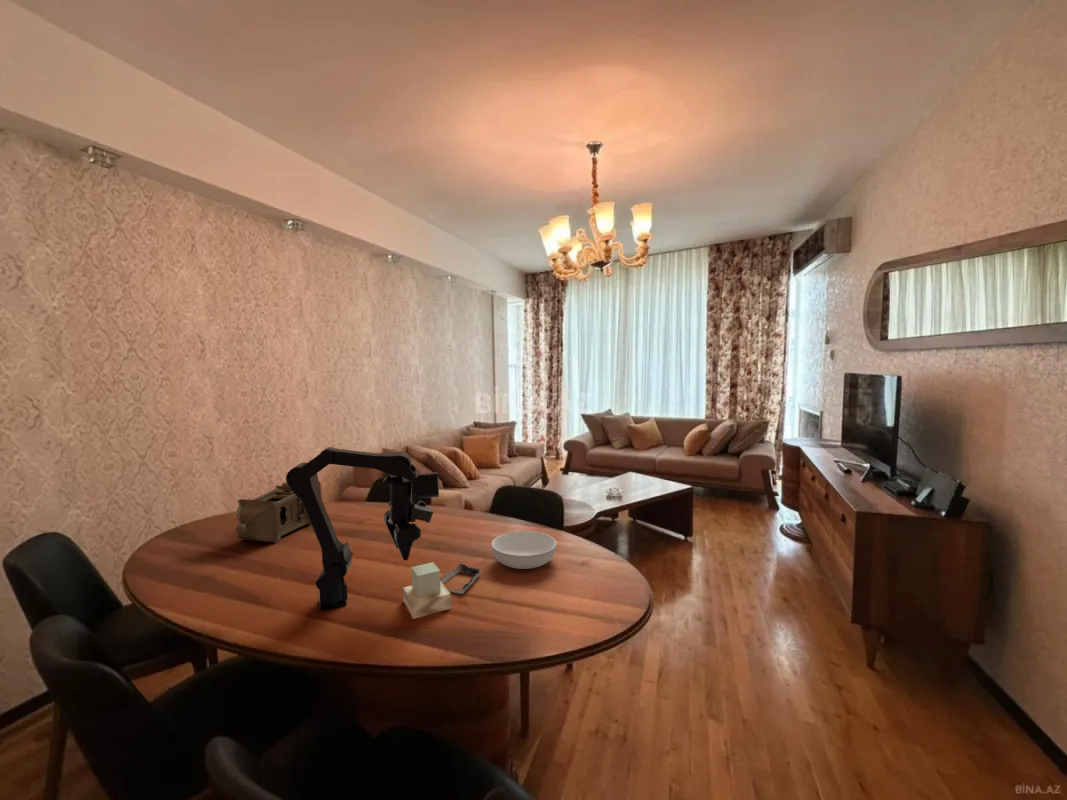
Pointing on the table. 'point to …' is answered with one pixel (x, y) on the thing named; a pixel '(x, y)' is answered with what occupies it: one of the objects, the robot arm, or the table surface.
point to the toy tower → (271, 515)
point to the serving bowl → (524, 549)
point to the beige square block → (426, 602)
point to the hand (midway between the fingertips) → (402, 553)
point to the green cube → (426, 580)
